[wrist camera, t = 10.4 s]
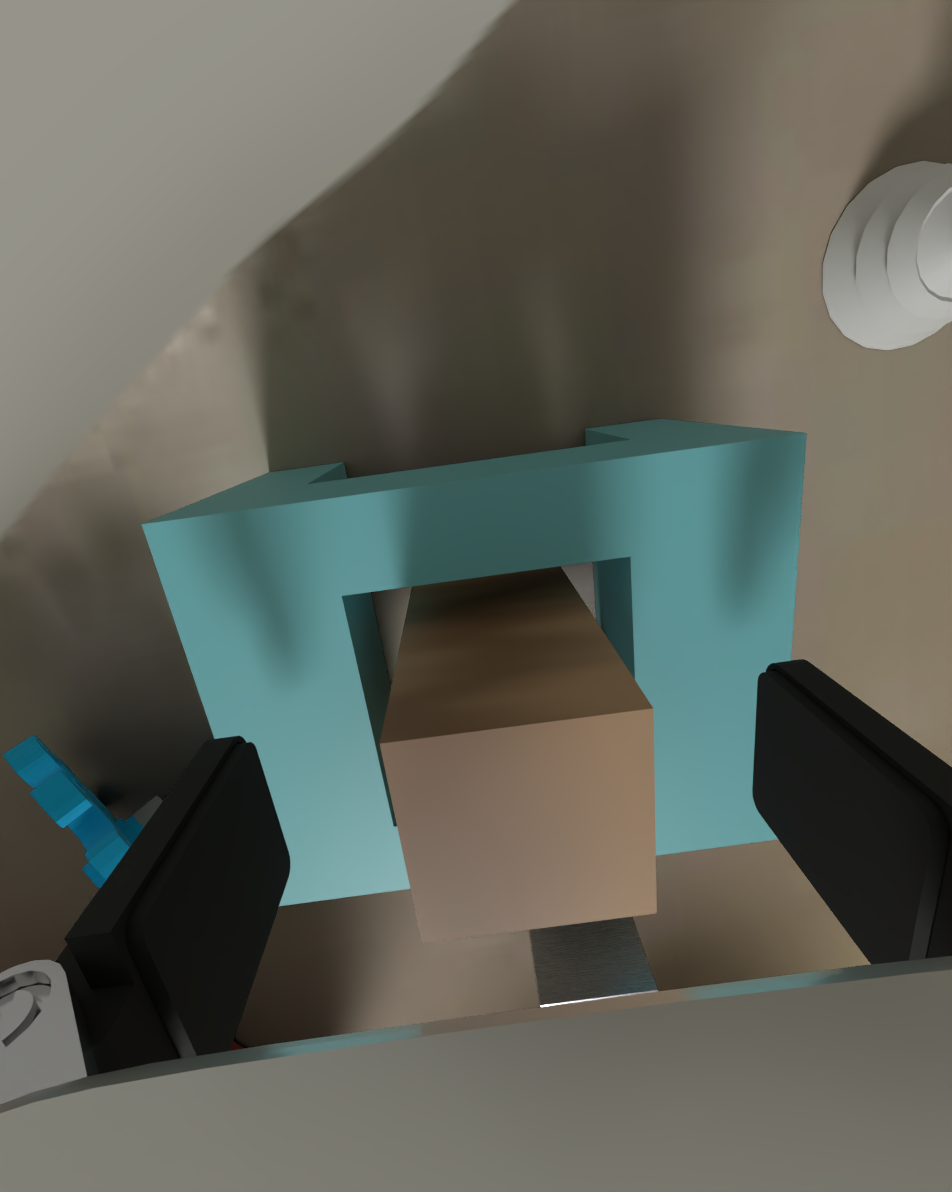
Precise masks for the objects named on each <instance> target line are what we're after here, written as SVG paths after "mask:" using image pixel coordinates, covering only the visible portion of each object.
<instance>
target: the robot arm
mask: <svg viewBox="0 0 952 1192" xmlns="http://www.w3.org/2000/svg"><path fill="white" fill-rule="evenodd" d="M752 794H753V800H754V803H755V806H756V808H757V810H758V812H759V814H760V815H761V816H762V818H763V819H764V821H765V822H766V823H767V825H768V826H769V827H770V829H771V830H772V831H773V833H774V834H775V835H776V837H777V838H778V839H779V841H780V842H781V843H782V845H783V846H784V848H785V849H786V850H787V852H788V853H789V854H790V856H791V857H792V858H793V860H794V861H795V862H796V864H797V865H798V866H799V868H800V869H801V870H802V872H803V873H804V874H805V876H806V877H807V879H808V880H809V881H810V883H811V884H812V885H813V887H814V888H815V889H816V891H817V892H818V893H819V895H820V896H821V897H822V899H823V900H824V901H825V903H826V904H827V905H828V907H829V908H830V910H831V911H832V912H833V914H834V915H835V916H836V918H837V919H838V920H839V922H840V923H841V924H842V926H843V927H844V928H845V930H846V931H847V932H848V934H849V935H850V937H851V938H852V939H853V941H854V942H855V943H856V945H857V946H858V947H859V949H860V950H861V951H862V953H863V954H864V955H865V957H866V958H867V959H868V961H869V962H870V963H871V965H863V966H855V967H847V968H839V969H831V970H823V971H815V972H807V973H800V974H792V975H784V976H776V977H768V978H760V979H752V980H744V981H737V982H729V983H721V984H713V985H705V986H697V987H689V988H682V989H674V990H666V991H659V992H651V993H644V994H636V995H628V996H621V997H613V998H606V999H598V1000H591V1001H583V1002H576V1003H568V1004H560V1005H553V1006H546V1007H538V1008H531V1009H523V1010H516V1011H508V1012H501V1013H494V1014H486V1015H479V1016H471V1017H464V1018H456V1019H449V1020H442V1021H435V1022H428V1023H420V1024H413V1025H406V1026H399V1027H392V1028H385V1029H377V1030H370V1031H363V1032H356V1033H349V1034H342V1035H334V1036H327V1037H320V1038H313V1039H306V1040H299V1041H292V1042H284V1043H277V1044H270V1045H264V1046H257V1047H251V1048H245V1049H238V1050H232V1051H230V1049H231V1046H232V1043H233V1040H234V1037H235V1034H236V1031H237V1028H238V1025H239V1022H240V1019H241V1016H242V1013H243V1011H244V1008H245V1005H246V1002H247V999H248V996H249V993H250V990H251V987H252V984H253V981H254V978H255V975H256V972H257V969H258V966H259V963H260V960H261V957H262V955H263V952H264V949H265V946H266V943H267V940H268V937H269V934H270V931H271V928H272V925H273V922H274V919H275V916H276V913H277V910H278V907H279V904H280V902H281V899H282V896H283V893H284V890H285V887H286V884H287V881H288V878H289V874H290V855H289V851H288V848H287V845H286V842H285V838H284V835H283V832H282V829H281V826H280V822H279V819H278V816H277V813H276V810H275V806H274V803H273V800H272V797H271V793H270V790H269V787H268V784H267V781H266V777H265V774H264V771H263V768H262V765H261V761H260V758H259V755H258V752H257V749H256V746H255V745H254V744H253V743H252V742H247V743H246V741H245V739H244V738H243V737H241V736H233V737H225V738H218V739H211V740H207V741H206V742H205V743H204V744H203V746H202V747H201V748H200V750H199V751H198V753H197V754H196V755H195V757H194V758H193V760H192V761H191V762H190V764H189V765H188V767H187V768H186V769H185V771H184V772H183V774H182V775H181V776H180V778H179V779H178V781H177V782H176V783H175V785H174V786H173V788H172V789H171V790H170V792H169V793H168V795H167V796H166V797H165V799H164V800H163V801H162V803H161V804H160V806H159V807H158V808H157V810H156V811H155V813H154V814H153V815H152V817H151V818H150V820H149V821H148V822H147V824H146V825H145V827H144V828H143V829H142V831H141V832H140V834H139V835H138V836H137V838H136V839H135V841H134V842H133V843H132V845H131V846H130V848H129V849H128V850H127V852H126V853H125V855H124V856H123V857H122V859H121V860H120V862H119V863H118V864H117V866H116V867H115V869H114V870H113V871H112V873H111V874H110V876H109V877H108V878H107V880H106V881H105V882H104V884H103V885H102V887H101V888H100V889H99V891H98V892H97V894H96V895H95V896H94V898H93V899H92V901H91V902H90V903H89V905H88V906H87V908H86V909H85V910H84V912H83V913H82V915H81V916H80V917H79V919H78V920H77V922H76V923H75V924H74V926H73V927H72V929H71V930H70V931H69V933H68V934H67V936H66V937H65V938H64V939H65V940H66V942H67V944H68V945H67V946H66V947H65V949H64V950H63V952H62V953H61V955H60V956H59V957H58V959H57V960H56V962H54V961H51V960H33V961H30V962H26V963H23V964H20V965H17V966H14V967H11V968H9V969H7V970H5V971H3V972H1V973H0V1192H952V767H951V766H949V765H948V764H946V763H945V762H944V761H942V760H941V759H940V758H938V757H937V756H936V755H934V754H933V753H932V752H930V751H929V750H927V749H926V748H925V747H923V746H922V745H921V744H919V743H918V742H917V741H915V740H914V739H913V738H911V737H910V736H908V735H907V734H906V733H904V732H903V731H902V730H900V729H899V728H898V727H896V726H895V725H894V724H892V723H891V722H890V721H888V720H887V719H885V718H884V717H883V716H881V715H880V714H879V713H877V712H876V711H875V710H873V709H872V708H871V707H869V706H868V705H866V704H865V703H864V702H862V701H861V700H860V699H858V698H857V697H856V696H854V695H853V694H852V693H850V692H849V691H848V690H846V689H845V688H843V687H842V686H841V685H839V684H838V683H837V682H835V681H834V680H833V679H831V678H830V677H829V676H827V675H826V674H824V673H823V672H822V671H820V670H819V669H818V668H816V667H815V666H814V665H812V664H811V663H810V662H808V661H806V660H804V659H801V660H793V661H785V662H778V663H771V664H770V665H768V667H767V669H766V672H763V673H761V674H760V675H759V677H758V683H757V704H756V725H755V746H754V766H753V787H752Z"/></svg>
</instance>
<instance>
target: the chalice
mask: <svg viewBox="0 0 952 1192" xmlns="http://www.w3.org/2000/svg"><path fill="white" fill-rule="evenodd" d="M823 295H824V299H825V302H826V305H827V308H828V311H829V315H830V318H831V319H832V320H833V321H834V323H835V324H836V325H837V327H838V328H839V329H840V330H841V332H842V333H843V334H844V336H846V337H848V338H849V339H851V340H853V341H855V342H856V343H858V344H860V345H862V346H863V347H867V348H874V349H882V350H892V349H896V348H901V347H906V346H910V345H914V344H916V343H917V342H919V341H921V340H923V339H925V338H926V337H928V336H930V335H932V334H934V333H936V332H937V331H938V330H939V329H940V328H942V327H943V326H944V325H945V324H947V323H949V322H951V321H952V164H951V163H946V164H941V163H935V162H929V161H920V162H915V163H911V164H906V165H902V166H897V167H895V168H893V169H891V170H890V171H888V172H886V173H885V174H883V175H881V176H880V177H878V178H876V179H875V180H873V181H871V182H870V183H869V184H868V185H867V186H866V187H865V188H864V189H863V190H862V191H861V192H860V193H859V194H858V195H857V196H856V197H855V198H854V199H853V200H852V201H851V202H850V203H849V204H848V205H847V207H846V209H845V211H844V212H843V214H842V216H841V218H840V219H839V221H838V223H837V225H836V226H835V228H834V230H833V232H832V233H831V236H830V240H829V243H828V247H827V251H826V254H825V258H824V261H823Z"/></svg>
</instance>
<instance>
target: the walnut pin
mask: <svg viewBox="0 0 952 1192" xmlns="http://www.w3.org/2000/svg"><path fill="white" fill-rule="evenodd" d="M380 748H381V753H382V758H383V762H384V767H385V772H386V776H387V781H388V786H389V790H390V795H391V800H392V804H393V809H394V814H395V819H396V823H397V828H398V833H399V837H400V842H401V847H402V851H403V856H404V861H405V866H406V870H407V875H408V880H409V884H410V889H411V894H412V898H413V903H414V908H415V913H416V917H417V922H418V927H419V931H420V936H421V941H422V944H423V943H430V942H438V941H446V940H454V939H462V938H469V937H477V936H485V935H493V934H500V933H508V932H516V931H524V930H531V929H539V928H547V927H555V926H562V925H570V924H578V923H586V922H593V921H601V920H609V919H617V918H624V917H632V916H640V915H648V914H655V913H657V896H656V835H655V773H654V711H653V707H652V705H651V704H650V702H649V701H648V699H647V698H646V696H645V695H644V693H643V692H642V690H641V689H640V687H639V686H638V684H637V682H636V681H635V679H634V678H633V676H632V675H631V673H630V672H629V670H628V669H627V667H626V666H625V664H624V663H623V661H622V660H621V658H620V656H619V655H618V653H617V652H616V650H615V649H614V647H613V646H612V644H611V643H610V641H609V640H608V638H607V637H606V635H605V634H604V632H603V631H602V629H601V627H600V626H599V624H598V623H597V621H596V620H595V618H594V617H593V615H592V614H591V612H590V611H589V609H588V608H587V606H586V605H585V603H584V601H583V600H582V598H581V597H580V595H579V594H578V592H577V591H576V589H575V588H574V586H573V585H572V583H571V582H570V580H569V579H568V577H567V575H566V574H565V572H564V571H563V569H562V568H561V566H558V567H550V568H543V569H536V570H528V571H521V572H514V573H506V574H499V575H492V576H484V577H477V578H470V579H462V580H455V581H448V582H440V583H433V584H426V585H419V586H412V590H411V595H410V600H409V604H408V609H407V614H406V619H405V624H404V628H403V633H402V638H401V643H400V648H399V653H398V657H397V662H396V667H395V672H394V677H393V682H392V686H391V691H390V696H389V701H388V706H387V710H386V715H385V720H384V725H383V730H382V735H381V739H380Z"/></svg>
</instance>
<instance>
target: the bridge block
mask: <svg viewBox="0 0 952 1192" xmlns="http://www.w3.org/2000/svg"><path fill="white" fill-rule="evenodd" d="M806 435H807V433H802V432H792V431H782V430H772V429H761V428H751V427H741V426H731V425H721V424H710V423H700V422H690V421H680V420H669V419H654V420H646V421H639V422H632V423H625V424H617V425H610V426H603V427H595V428H588V429H585V442H586V446H581V447H574V448H567V449H560V450H552V451H545V452H538V453H530V454H523V455H516V456H509V457H501V458H494V459H487V460H480V461H472V462H465V463H458V464H450V465H443V466H436V467H429V468H421V469H414V470H407V471H400V472H392V473H385V474H378V475H371V476H363V477H356V478H349V479H347V475H346V470H345V465H344V462H341V463H334V464H327V465H319V466H312V467H305V468H298V469H290V470H283V471H276V472H269V473H266V474H264V475H261V476H259V477H256V478H254V479H252V480H249V481H247V482H244V483H242V484H239V485H237V486H234V487H232V488H229V489H227V490H225V491H222V492H220V493H217V494H215V495H212V496H210V497H207V498H205V499H202V500H200V501H198V502H195V503H193V504H190V505H188V506H185V507H183V508H180V509H178V510H175V511H173V512H171V513H168V514H166V515H163V516H161V517H158V518H156V519H153V520H151V521H148V522H146V523H144V524H142V527H143V530H144V533H145V536H146V539H147V542H148V545H149V548H150V551H151V554H152V557H153V560H154V563H155V565H156V568H157V571H158V574H159V577H160V580H161V583H162V586H163V589H164V592H165V595H166V598H167V601H168V604H169V607H170V610H171V613H172V615H173V618H174V621H175V624H176V627H177V630H178V633H179V636H180V639H181V642H182V645H183V648H184V651H185V654H186V657H187V660H188V663H189V665H190V668H191V671H192V674H193V677H194V680H195V683H196V686H197V689H198V692H199V695H200V698H201V701H202V704H203V707H204V710H205V713H206V715H207V718H208V721H209V724H210V727H211V730H212V733H213V736H214V739H218V738H225V737H233V736H241V737H243V738H244V739H245V741H246V743H247V742H252V743H253V744H254V745H255V746H256V749H257V752H258V755H259V758H260V761H261V765H262V768H263V771H264V774H265V777H266V781H267V784H268V787H269V790H270V793H271V797H272V800H273V803H274V806H275V810H276V813H277V816H278V819H279V822H280V826H281V829H282V832H283V835H284V838H285V842H286V845H287V848H288V851H289V855H290V874H289V878H288V881H287V884H286V887H285V890H284V893H283V896H282V899H281V902H280V904H279V906H285V905H292V904H300V903H307V902H315V901H322V900H330V899H337V898H344V897H352V896H359V895H367V894H374V893H382V892H389V891H397V890H404V889H410V884H409V880H408V875H407V870H406V866H405V861H404V856H403V851H402V847H401V842H400V837H399V833H398V828H397V823H396V819H395V814H394V809H393V804H392V800H391V795H390V790H389V786H388V781H387V776H386V772H385V767H384V762H383V758H382V753H381V748H380V739H381V735H382V730H383V725H384V720H385V715H386V710H387V706H388V701H389V696H390V691H391V688H390V683H389V678H388V674H387V669H386V664H385V659H384V654H383V649H382V644H381V640H380V635H379V630H378V625H377V620H376V615H375V611H374V606H373V601H372V596H371V592H375V591H382V590H389V589H397V588H404V587H411V586H419V585H426V584H433V583H440V582H448V581H455V580H462V579H470V578H477V577H484V576H492V575H499V574H506V573H514V572H521V571H528V570H536V569H543V568H550V567H558V566H565V565H572V564H580V563H587V562H593V573H594V590H595V606H596V621H597V623H598V624H599V626H600V627H601V629H602V631H603V632H604V634H605V635H606V637H607V638H608V640H609V641H610V643H611V644H612V646H613V647H614V649H615V650H616V652H617V653H618V655H619V656H620V658H621V660H622V661H623V663H624V664H625V666H626V667H627V669H628V670H629V672H630V673H631V675H632V676H633V678H634V679H635V681H636V682H637V684H638V686H639V687H640V689H641V690H642V692H643V693H644V695H645V696H646V698H647V699H648V701H649V702H650V704H651V705H652V707H653V711H654V773H655V835H656V856H657V855H664V854H672V853H679V852H687V851H694V850H702V849H709V848H716V847H724V846H731V845H739V844H746V843H754V842H761V841H769V840H776V839H778V838H777V837H776V835H775V834H774V833H773V831H772V830H771V829H770V827H769V826H768V825H767V823H766V822H765V821H764V819H763V818H762V816H761V815H760V814H759V812H758V810H757V808H756V806H755V803H754V800H753V794H752V787H753V766H754V746H755V725H756V704H757V683H758V677H759V675H760V674H761V673H763V672H766V669H767V667H768V665H770V664H771V663H778V662H785V661H791V650H792V636H793V621H794V607H795V593H796V578H797V564H798V550H799V535H800V521H801V507H802V493H803V478H804V464H805V450H806Z"/></svg>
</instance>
